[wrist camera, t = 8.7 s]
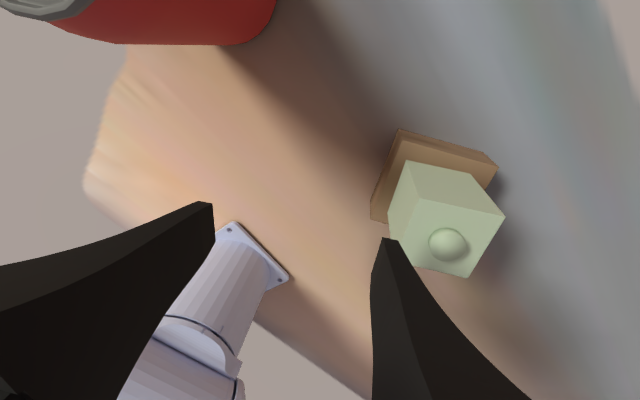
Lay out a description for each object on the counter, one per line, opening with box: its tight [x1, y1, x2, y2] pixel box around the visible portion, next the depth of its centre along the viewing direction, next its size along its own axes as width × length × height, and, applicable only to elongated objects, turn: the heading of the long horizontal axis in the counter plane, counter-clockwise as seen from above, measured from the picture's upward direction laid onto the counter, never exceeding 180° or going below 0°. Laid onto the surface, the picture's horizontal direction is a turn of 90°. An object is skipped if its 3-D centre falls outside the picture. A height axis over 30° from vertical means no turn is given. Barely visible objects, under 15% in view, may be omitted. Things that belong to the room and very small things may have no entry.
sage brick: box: [387, 160, 505, 278], centre depth 16 cm, size 4×4×6 cm
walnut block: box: [370, 129, 499, 224], centre depth 19 cm, size 6×6×3 cm
